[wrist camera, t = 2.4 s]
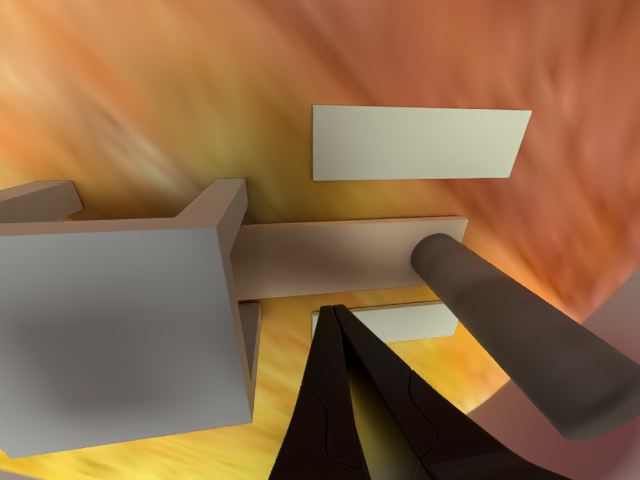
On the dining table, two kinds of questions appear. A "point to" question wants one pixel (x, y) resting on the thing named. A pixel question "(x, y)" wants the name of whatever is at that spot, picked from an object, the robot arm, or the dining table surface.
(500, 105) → the dining table surface
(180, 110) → the dining table surface
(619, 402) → the sled
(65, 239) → the tunnel
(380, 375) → the robot arm
